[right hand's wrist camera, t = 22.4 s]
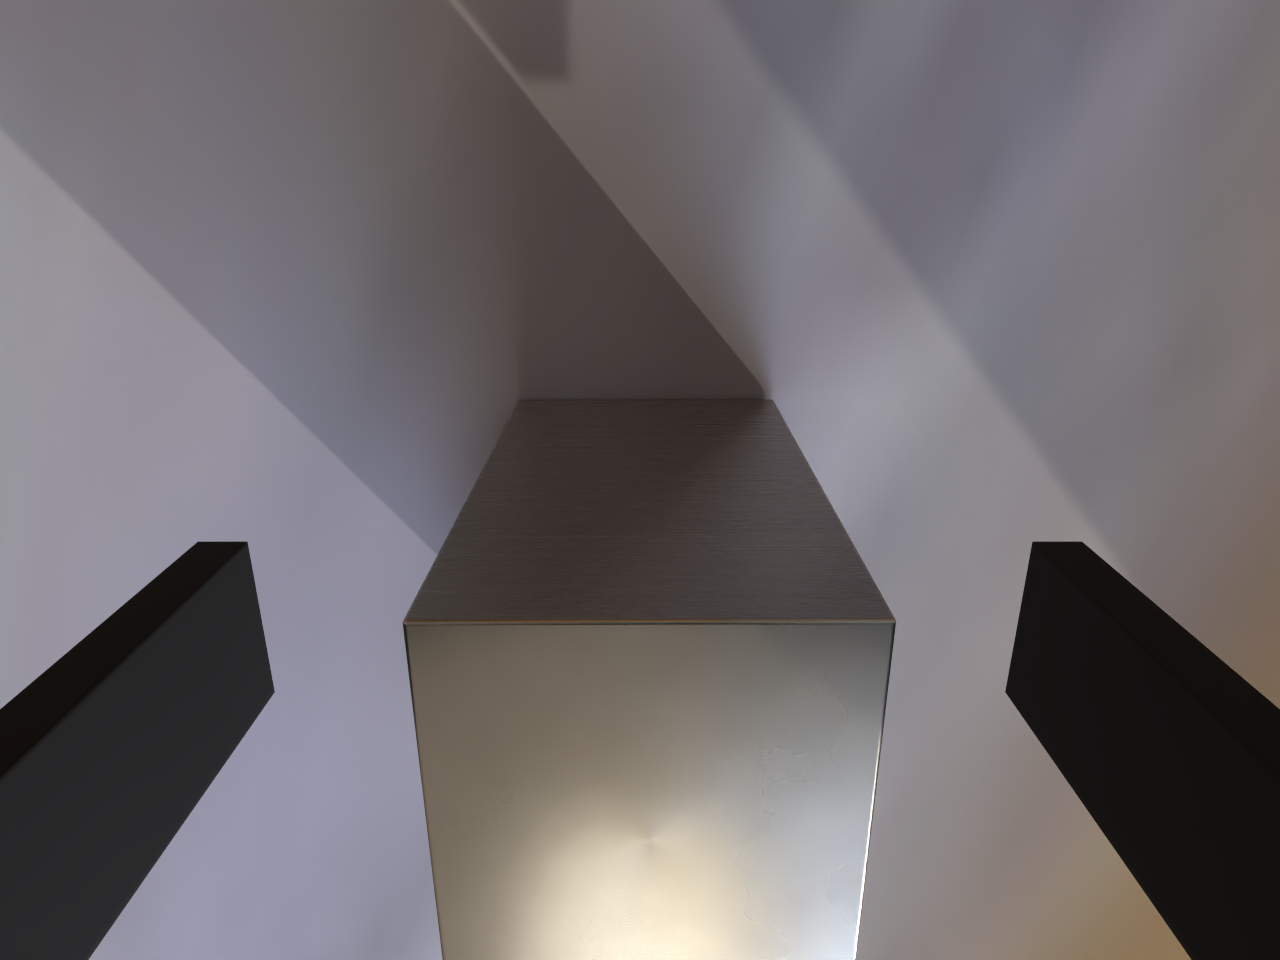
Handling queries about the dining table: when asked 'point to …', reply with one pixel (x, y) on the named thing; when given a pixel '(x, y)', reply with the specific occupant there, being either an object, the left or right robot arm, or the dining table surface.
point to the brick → (648, 693)
